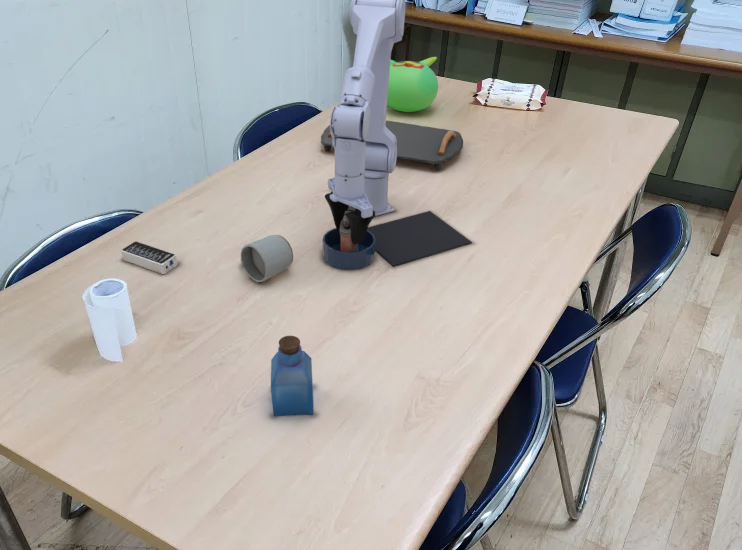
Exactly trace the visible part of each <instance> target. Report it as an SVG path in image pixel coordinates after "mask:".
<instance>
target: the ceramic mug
mask: <svg viewBox="0 0 742 550" xmlns="http://www.w3.org/2000/svg"><path fill="white" fill-rule="evenodd" d="M293 261H294V251H293V248H292V246H291V243H289V241H288V240H287V238H285V237H284V236H282V235H280V234H271V235H267V236H266V237H263V238H261V239H258V240H256V241H255V240H254V241H252V242H249V243H247V244H244V245H243V247H242V248H241V250H240V262H241V265H242V267H243V269H244V271H245V274H247V276H248V277H249V278H250V279H251V280H253V281H254V282H257V283H263V282H265V281H267V280H268V279H270V278H272V277H275V276H276V275H278V274H280V273H282V272H283V271H285V270H287V269H288V268H289V267H290V266H291V265H292V263H293Z"/></svg>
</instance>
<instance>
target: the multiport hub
mask: <svg viewBox="0 0 742 550" xmlns="http://www.w3.org/2000/svg"><path fill="white" fill-rule="evenodd" d="M120 252H121V255H122V259H123V261H125V262H127V263H131V264H132V265H136V266H138V267H141V268H145V269H147V270H150V271H152V272H156V273H158V274H162V275H166V274H167V273H168V272H170V271H171V270H173V269H174V268H175V267H177V266H178V259H177V254H175V253H172V252H169V251H166V250H164V249H160V248H158V247H155V246H152V245H149V244H146V243H142V242H140V241H137V240H135V241H133V242H131V243H130V244H128V245H127V246H125V247H124V248H122V249H121V250H120Z"/></svg>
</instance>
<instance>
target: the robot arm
mask: <svg viewBox="0 0 742 550" xmlns="http://www.w3.org/2000/svg"><path fill="white" fill-rule="evenodd" d="M405 19H406V0H351V1H350V7H349V21H350V25H351V27H352V32H353V33H354V34H355V35H356V40H355V49H354V57H353V65H352V66H351V67H349V68H348V69H346V71H345V73H344V78H343V81H342V84H341V85H342V86H341V90H340V95H339V100H338V104H337V106H334V107H333V108H332V110H331V114H330V121H329V125H330V132H331V136H332V146H333V147H332V149H334V177H332V178H328V179H327V188H328V189H329V190H330V192H329V193H326V194H325V195H324V199H325V200H326V202H327V205H328V206H329V208H330V209H329V210H330V211H331V215H332V219H333V222H334V226H335V228H337V229H339V228H340V224H341V221H342V219H343V218H344V214H345V211H347V210H348V208H349V206H351V207H354V208H355V211H352V212H348V213H346V217H347V219H348V221H349V224H350V228H351V238H352V242H353V244H359V243H362V242H363V240H364V237H365V234H366V231H367V228H368V227H370V226H369V225H370V224H371V222H372V220H373V219H374V218H375V217H377V216H382V215H385V214H388V213H393V212H395V208H394V207H393V206H391V205H390V204H389V203H388V195H389V179H390V178H389V175H390V174H392V173H393V172H394V171H395V169H396V165H397V160H398V158H397V139H396V136H395V135H394V134H393V133H392V132H391V131H390V130H389V129H388V128H387V127H386V126H385V125H386V121H387V111H388V110H387V109H388V105H387V99H388V86H389V73H390V59H391V58H392V52H393V51H392V50H393V47H394V44H395V43H398V42H401V41H402V40H403V37H404V32H405V31H404V30H405ZM391 60H392V59H391Z"/></svg>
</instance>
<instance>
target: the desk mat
mask: <svg viewBox="0 0 742 550" xmlns="http://www.w3.org/2000/svg"><path fill="white" fill-rule="evenodd" d="M367 230H368V231H370V232H371V233H372V234H373V235H374V237H375V239H376V241H375V253H377V254H378V255H379V256H381V257H382V259H384V260H385V261H386V262H387V263H388V264H390V265H391V266H392V267H393V268H394V267H398V266H402V265H405V264H408V263H411V262H414V261H418V260H422V259H424V258H428V257H431V256H434V255H438V254H442V253H444V252H447V251H452V250H455V249H457V248H461V247H464V246H468V245H471V244H472V243H473V242H472V241H471V240H470V239H469V238H467V237H466V236H465V235H463V234H462V233H461V232H460V231H457V229H455V228H454V227H453V226H451V225H450V224H448V223H447V222H445V220H443V219H442V218H440V217H439V216H437V215H436V214H434V213H433V212H432V211H431V210H428V211H424V212H420V213H416V214H413V215H409V216H406V217H402V218H398V219H394V220H390V221H387V222H383V223H379V224H376V225H371V226H368V228H367Z"/></svg>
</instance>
